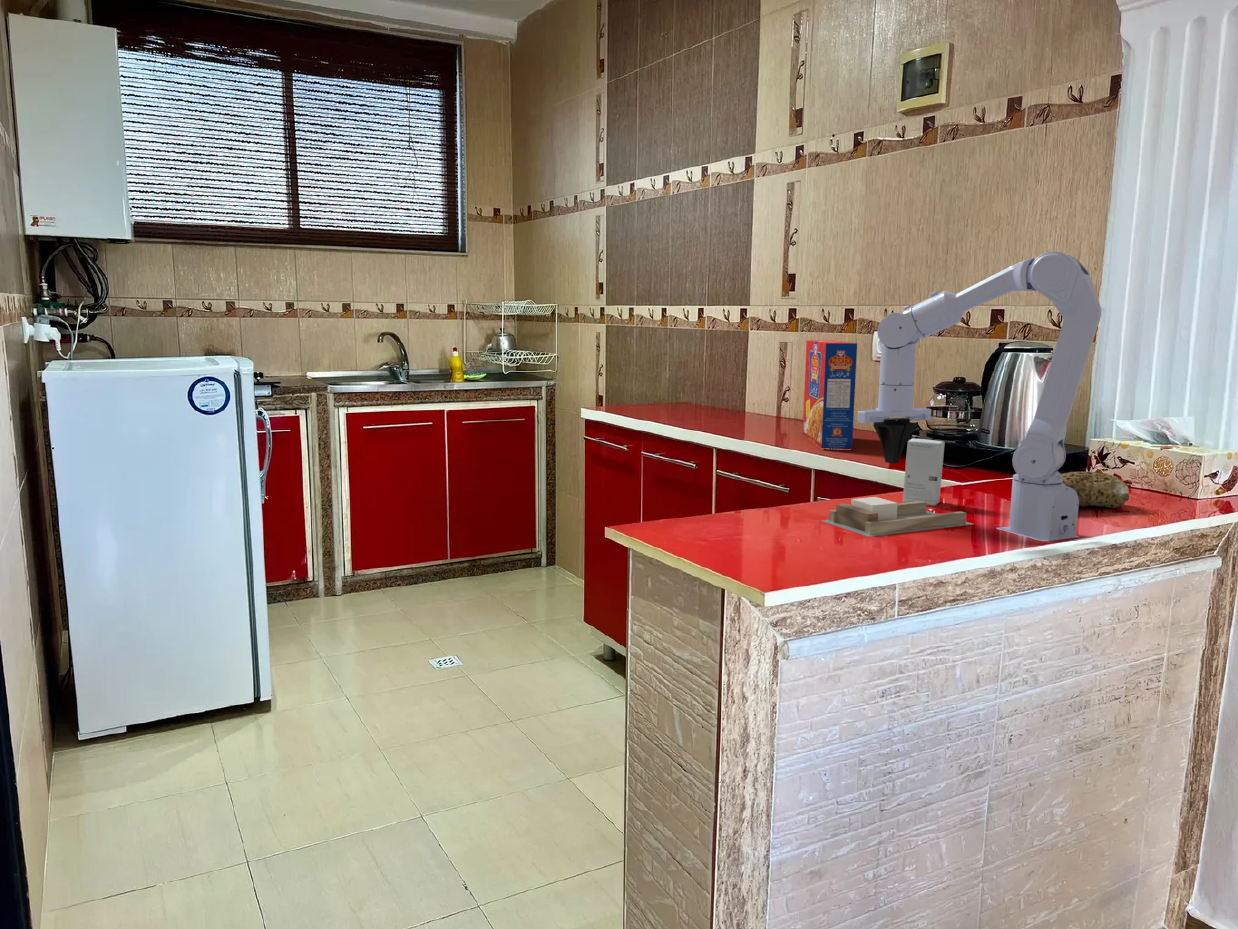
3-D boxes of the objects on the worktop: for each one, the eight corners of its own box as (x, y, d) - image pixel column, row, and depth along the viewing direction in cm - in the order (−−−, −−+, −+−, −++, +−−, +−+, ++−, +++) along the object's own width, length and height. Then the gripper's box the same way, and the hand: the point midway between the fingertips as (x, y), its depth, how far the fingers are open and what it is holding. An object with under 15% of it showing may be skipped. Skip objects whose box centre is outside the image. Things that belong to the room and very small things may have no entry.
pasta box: (802, 436, 260) (806, 340, 256) (830, 436, 260) (834, 340, 256) (821, 450, 233) (826, 343, 228) (851, 450, 233) (857, 343, 228)
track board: (973, 527, 147) (973, 523, 147) (867, 540, 138) (868, 536, 138) (921, 512, 158) (922, 509, 158) (820, 523, 149) (820, 520, 149)
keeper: (896, 526, 145) (897, 502, 144) (871, 529, 143) (873, 505, 142) (874, 520, 149) (875, 496, 149) (850, 522, 147) (851, 499, 147)
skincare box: (901, 505, 164) (905, 440, 162) (906, 501, 168) (910, 437, 166) (936, 509, 161) (940, 443, 159) (940, 504, 165) (945, 440, 163)
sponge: (1101, 507, 170) (997, 483, 172) (1117, 470, 167) (1011, 446, 169) (1128, 536, 158) (1016, 509, 159) (1146, 496, 155) (1031, 470, 157)
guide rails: (965, 523, 147) (966, 505, 147) (869, 534, 139) (870, 516, 139) (920, 511, 157) (922, 494, 156) (828, 520, 149) (829, 503, 148)
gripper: (912, 381, 158) (908, 457, 161) (847, 383, 152) (843, 461, 155) (942, 384, 152) (936, 462, 154) (874, 386, 146) (870, 468, 148)
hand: (892, 462), depth 154 cm, fingers closed
